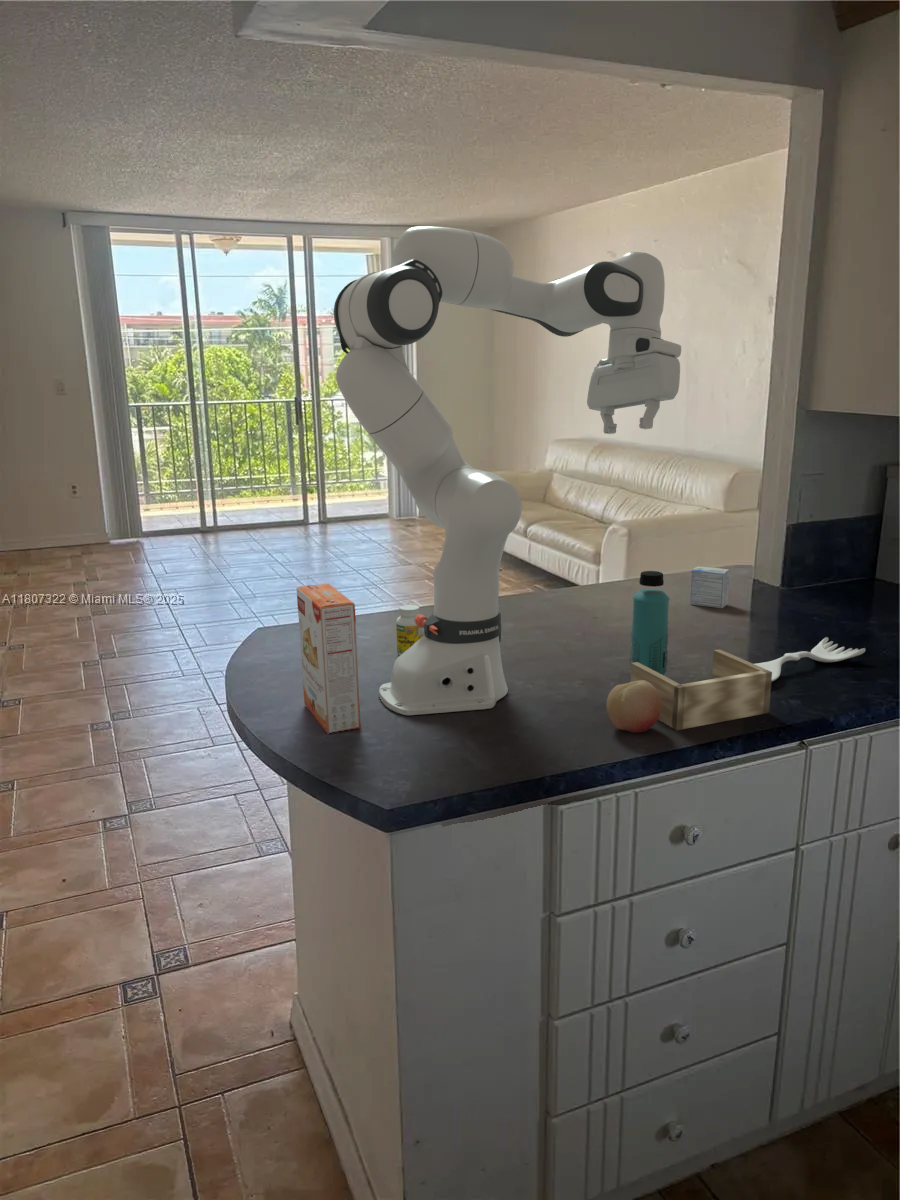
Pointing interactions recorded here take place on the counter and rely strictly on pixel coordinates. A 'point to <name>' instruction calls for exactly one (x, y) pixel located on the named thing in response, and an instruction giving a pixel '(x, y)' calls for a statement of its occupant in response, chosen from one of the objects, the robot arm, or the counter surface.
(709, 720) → the box
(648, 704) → the fruit
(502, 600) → the counter surface
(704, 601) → the medicine box
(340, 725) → the cracker box
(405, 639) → the supplement bottle
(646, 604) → the beverage bottle
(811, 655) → the white long slender part
